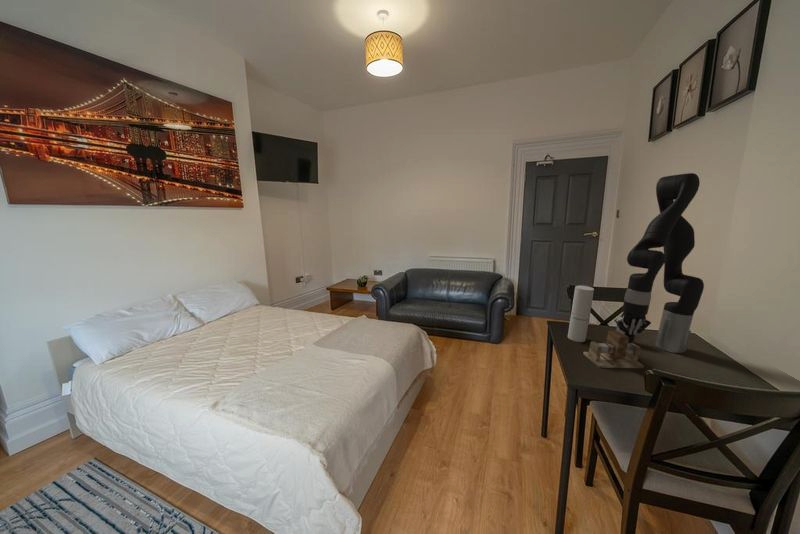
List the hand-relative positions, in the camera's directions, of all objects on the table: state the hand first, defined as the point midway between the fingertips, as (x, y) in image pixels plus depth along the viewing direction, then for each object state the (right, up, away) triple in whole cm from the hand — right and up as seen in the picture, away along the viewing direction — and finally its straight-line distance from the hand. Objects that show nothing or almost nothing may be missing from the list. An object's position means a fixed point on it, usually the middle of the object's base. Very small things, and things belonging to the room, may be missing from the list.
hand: (628, 341), depth 111 cm
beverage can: (+12, -5, +18) cm, 23 cm away
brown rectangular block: (-4, -6, +1) cm, 7 cm away
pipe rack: (-5, -8, +2) cm, 10 cm away
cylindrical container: (-8, -4, +21) cm, 22 cm away
